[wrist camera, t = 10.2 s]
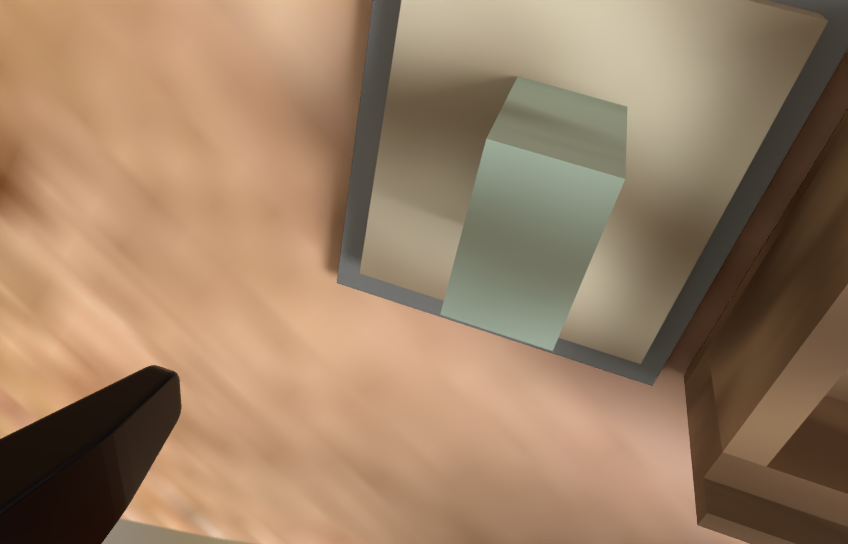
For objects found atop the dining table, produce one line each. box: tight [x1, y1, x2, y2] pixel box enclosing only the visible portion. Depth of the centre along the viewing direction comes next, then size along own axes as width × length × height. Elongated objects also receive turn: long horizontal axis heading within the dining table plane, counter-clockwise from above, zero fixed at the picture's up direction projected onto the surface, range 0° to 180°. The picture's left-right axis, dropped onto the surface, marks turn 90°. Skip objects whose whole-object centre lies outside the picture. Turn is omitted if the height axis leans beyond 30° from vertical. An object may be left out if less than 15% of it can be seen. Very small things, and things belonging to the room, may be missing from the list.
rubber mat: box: [337, 0, 848, 386], centre depth 19 cm, size 14×12×1 cm
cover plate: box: [360, 0, 828, 364], centre depth 17 cm, size 11×10×5 cm
